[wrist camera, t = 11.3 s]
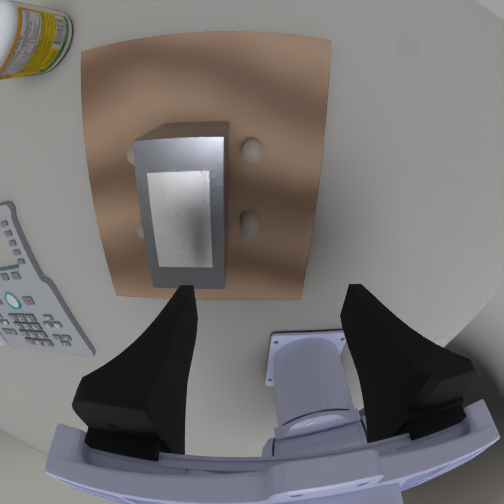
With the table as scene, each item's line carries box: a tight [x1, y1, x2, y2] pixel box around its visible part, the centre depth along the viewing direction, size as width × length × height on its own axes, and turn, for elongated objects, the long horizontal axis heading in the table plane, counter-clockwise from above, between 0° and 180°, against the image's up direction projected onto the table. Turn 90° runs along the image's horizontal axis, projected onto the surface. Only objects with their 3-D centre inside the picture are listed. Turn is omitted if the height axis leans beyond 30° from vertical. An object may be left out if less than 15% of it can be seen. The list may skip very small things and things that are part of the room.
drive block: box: [133, 121, 229, 289], centre depth 16 cm, size 8×4×6 cm, turn 178°
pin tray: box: [81, 31, 331, 300], centre depth 18 cm, size 20×16×3 cm
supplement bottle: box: [0, 0, 72, 80], centre depth 8 cm, size 5×5×10 cm
